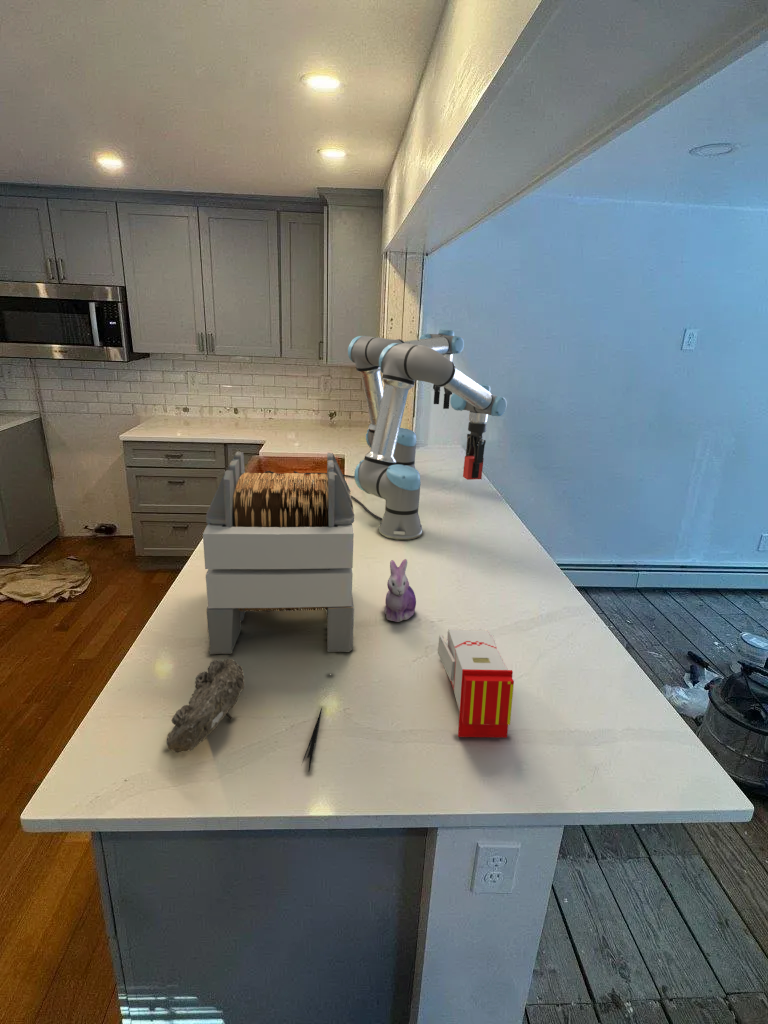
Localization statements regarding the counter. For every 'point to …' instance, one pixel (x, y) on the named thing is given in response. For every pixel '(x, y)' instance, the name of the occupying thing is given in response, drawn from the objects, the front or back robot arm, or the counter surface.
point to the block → (469, 466)
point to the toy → (478, 682)
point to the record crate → (279, 550)
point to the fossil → (206, 705)
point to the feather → (313, 740)
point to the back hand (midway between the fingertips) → (441, 406)
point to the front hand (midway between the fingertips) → (472, 475)
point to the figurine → (399, 594)
